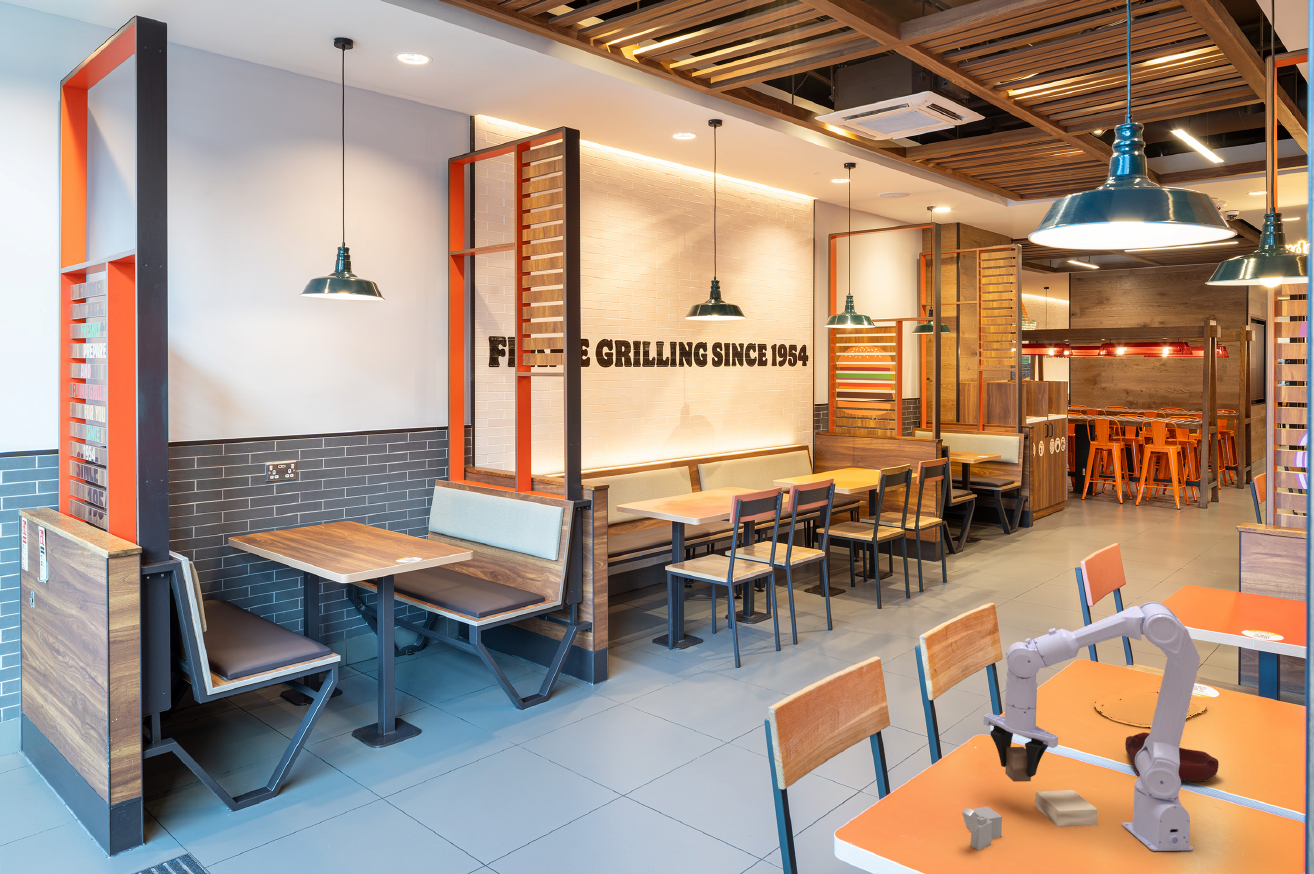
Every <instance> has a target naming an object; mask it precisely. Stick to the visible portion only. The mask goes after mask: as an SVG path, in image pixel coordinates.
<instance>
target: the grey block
mask: <svg viewBox="0 0 1314 874" xmlns="http://www.w3.org/2000/svg"><path fill="white" fill-rule="evenodd" d="M970 809H971V810H973V811H974V812H975V815H976V819H977V817H979V816H986V817H987V819H988V820H990V821H992V834H991V840H992V839H996V838H1002V827H1003V826H1002V825H1003V816H1002V815H1000V814H999V813H998V812H996V811H994V810H993V808H991V807H989V806H984V807H977V808H970Z"/></svg>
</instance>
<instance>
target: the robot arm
mask: <svg viewBox="0 0 1314 874" xmlns="http://www.w3.org/2000/svg"><path fill="white" fill-rule="evenodd" d="M1142 635H1144V637H1145V638H1146V639H1147V641H1148V642H1150V643H1151V645H1154V646H1155V647H1157V648H1159V649H1160V650H1161V651H1162V653H1163V654H1164V655H1165V656H1166V664H1165V667H1164V672H1163V677H1162V681H1161V685H1160V687H1159V688H1160V692H1159V693H1158V697H1157V702H1156V706H1155V710H1154V714H1153V719H1152V723H1151V725H1152V727H1151V728H1150V732H1149V733H1150V734H1149V736H1148V737H1147V738H1146V739H1145V742H1144V746H1143V747H1142V749H1141V750H1140V751H1138V753H1137V754H1136V756H1135V765H1136V768H1137V770H1138V771H1139V773H1140V776H1139V775H1138V778H1136V780H1135V782H1134V791H1133V792H1134V793H1133V808H1132V810H1133V811H1132V814H1133V815H1132V821H1131V822H1130V821H1129V822H1122V823H1121V824H1122V826H1123V827H1124V828H1125V829H1127V831H1128V832H1129V833H1131V834H1132V835H1133V836H1134V837H1135V838H1136V839H1138V840H1139V841H1141V842H1140V843H1142V844H1144V845H1145V846H1146V847H1147V848H1149V849H1150V850H1151V851H1153V852H1162V851H1163V852H1167V851H1169V852H1171V851H1174V852H1175V851H1193V850H1194V847H1193V846H1192V845H1190V844H1189V843H1190V842H1189V841H1190V827H1191V826H1190V825H1191V822H1190V821H1191V819H1190V814H1189V812H1188V810H1187V809H1186V808H1185V807H1184V806H1183V805H1182V803H1181V801H1180V795H1179V793H1180V791H1181V787H1182V780H1180V777H1179V772H1178V771H1179V766H1180V758H1179V747H1180V746H1181V745H1180V744H1181V741H1182V737H1183V733H1184V730H1185V729H1184V728H1185V725H1186V720H1187V719H1186V717H1187V716H1188V712H1189V708H1190V704H1191V702H1190V700H1191V696H1193V691H1194V687H1195V684H1196V683H1195V682H1196V678H1197V675H1198V670H1199V667H1200V662H1201V661H1200V660H1201V659H1200V658H1201V657H1200V654H1199V652H1198V650H1197V648H1196V645H1195V643H1194V642H1193V639H1192V637H1191V635H1190V632H1189V630H1188V628H1187V627H1186V626H1185V625H1184V624H1183V623H1182V622H1181V620H1180V619H1179V618H1178V616H1177V615H1176V614H1174V612H1173V611H1171V609H1170V608H1169V607H1168V606H1166V605H1165V604H1163V603H1161V602H1157V601H1148V602H1145V603H1143V604H1142V605H1140V606H1139V605H1135V606H1130V607H1128V608H1126V609H1124V610H1122V611H1120V612H1116V613H1114V614H1111V615H1110V616H1107V617H1105V618H1103V619H1101V620H1098V621H1096V622H1092V623H1090V624H1089V625H1086V626H1084V627H1080V628H1078V629H1076V630H1073V631H1070V630H1067V629H1064V628H1060V629H1056V628H1055V627H1052V628H1050V629H1048V633H1046V634H1044V635H1040V636H1038V637H1035V638H1032V639H1031V637H1028V638H1025V640H1024V641H1025V642H1022V641H1016V642H1014V643H1012V644H1010V646H1009V647H1008V649H1007V651H1006V652H1005V658H1006V663H1007V669H1006V677H1007V678H1006V679H1005V695H1004V696H1005V698H1004V700H1005V701H1004V703H1005V704H1004V716H1001V715H996V714H992V713H986V714H985V715H983V725H984V726H987V727H989V726H991V727H993V728H992V730H990V731H989V732H990V734H989V735H990V738H992V741H993V743H994V745H995V747H996V749H997V753H998V756H999V761H1000V766H1001V767H1002V768H1006V747H1012V741H1013V737H1014V734H1015V735H1017V736H1020V737H1024V738H1026V739H1029V741H1028V742H1026V743H1024V748H1025V749H1026V753H1027V776H1029V777H1031V778H1032V777H1034V776H1036V774H1037V771H1038V767H1039V764H1040V761H1041V759H1042V757H1043V755H1044V753H1045V752H1046V750H1047V749H1048V747H1049V748H1051V749H1054V748H1056V747H1058V746H1059V735H1056V734H1053V733H1051V732H1049V731H1047V730H1045V729H1043V728H1041V727H1039V726H1037V725H1036V724H1037V698H1038V697H1037V696H1038V682H1037V674H1038V673H1039V671H1040V669H1042V668H1043V669H1045V668H1048V667H1051V666H1053V665H1056V664H1059V663H1063V662H1065V661H1068V660H1071V659H1074V658H1076V657H1077V656H1078V653H1079V651H1080V649H1083V648H1085V647H1089V646H1092V645H1095V644H1100V643H1102V642H1105V641H1109V640H1112V639H1116V638H1119V637H1126V638H1130V639H1134V640H1136V641H1141V642H1142Z"/></svg>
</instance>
